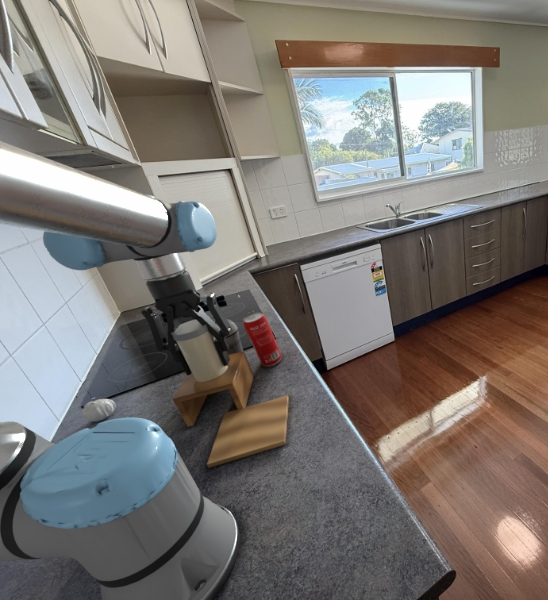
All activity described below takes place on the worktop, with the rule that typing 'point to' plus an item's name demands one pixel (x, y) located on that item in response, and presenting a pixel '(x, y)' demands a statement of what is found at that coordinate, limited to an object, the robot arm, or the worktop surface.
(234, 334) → the grey bottle
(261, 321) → the beverage can
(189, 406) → the shelf
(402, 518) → the worktop surface
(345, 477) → the worktop surface
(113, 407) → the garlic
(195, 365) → the jar
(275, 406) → the board
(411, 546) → the worktop surface
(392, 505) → the worktop surface
